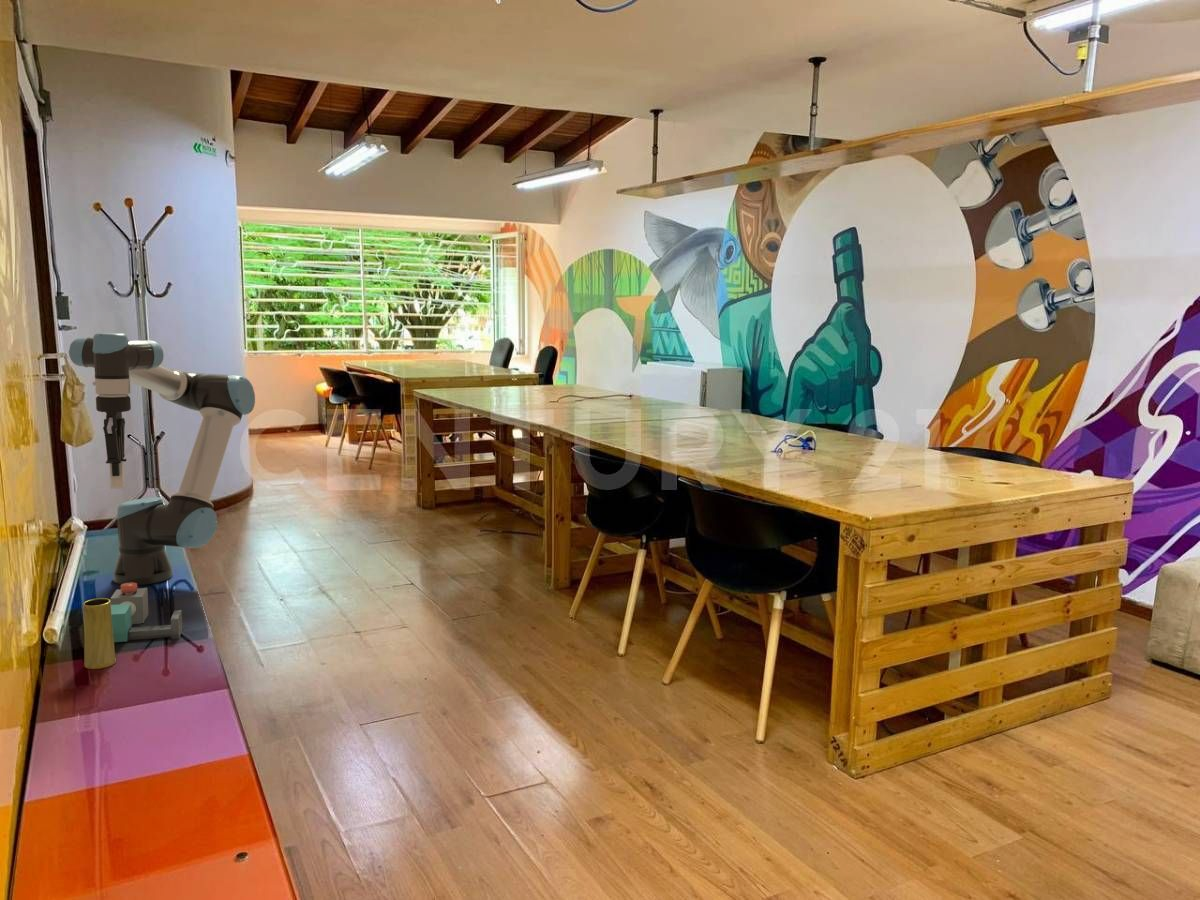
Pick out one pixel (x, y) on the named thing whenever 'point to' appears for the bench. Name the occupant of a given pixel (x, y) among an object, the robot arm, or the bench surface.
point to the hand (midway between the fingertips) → (117, 487)
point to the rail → (159, 629)
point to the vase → (98, 634)
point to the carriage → (121, 621)
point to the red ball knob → (129, 588)
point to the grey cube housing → (133, 603)
